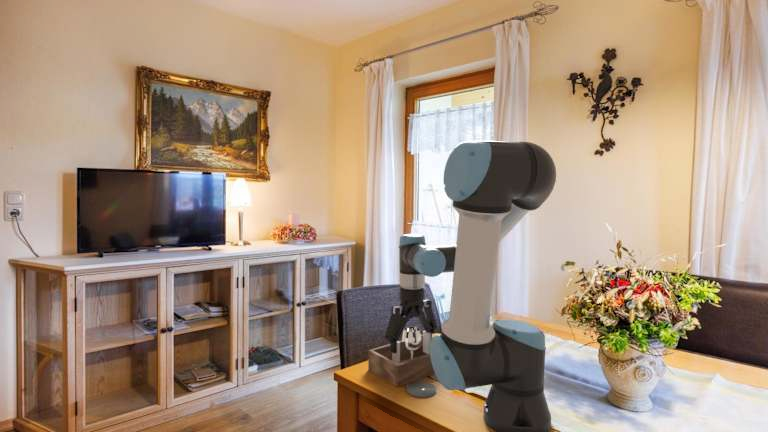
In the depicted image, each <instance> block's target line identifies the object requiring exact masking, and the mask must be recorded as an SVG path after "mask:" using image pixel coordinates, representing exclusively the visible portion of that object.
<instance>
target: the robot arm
mask: <svg viewBox="0 0 768 432" xmlns="http://www.w3.org/2000/svg"><path fill="white" fill-rule="evenodd" d="M556 170H557V169H556V165H555V162H554V160H553V158H552V156H551V155H550V154H549V152H548V151H547V150H546V149H544V148H543V146H541V145H538V144H537V143H534V142H533V143H532V142H529V141H501V140H499V141H498V140H484V139H478V140H467V141H463V142H460V143H458V144H457V145H456V146H455V147H454V148H453V150H452V151H451V152H450V153H449V155H448V158H447V161H446V163H445V167H444V172H443V185H444V192H445V194H446V196H447V197H448V198H449V199H450V200H452V207H453V209H454V210H455V211H456V212H457V213H458V223H457V231H456V232H457V234H456V244H444V245H427V244H426V238H425V236H424V235H423V234H419V233H404V234H402V235H400V236H399V243H398V244H399V246H398V249H399V252H398V253H399V260H398V261H399V268H398V269H399V277H398V278H399V289H398V290H399V291H398V292H399V295H398V296H399V300H400V304H399V306H395V305H392V306H391V312H390V313H391V314H390V318H389V321H388V325H387V327H386V332H385V335H384V340H385V341H387V342H389V344H390V348H391V349H390V350H391V352H392V361H394V362H396V363H398V364H400V363H401V361H400V342H398V341H400V340H399V339H400V337H401V335H402V334H403V331H404V328H406V324H407V323H409V321H410V320H411V319H414V318H417V319H418V320H419V322H420V324H421V325H422V327H423V329H424V330H423V331H422V334H423V352H425V353H427V354H430V358H431V362H432V366H433V369H434V372H435V374H434V375H435V376H436V379H437V380H438V382H439V383H440V385H441V386H442V387H443V388H444V389H446V390H448V391H457V390H462V391H465V390H466V389H472V388H478V387H483V386H484V387H485V386H490V388H489V391H488V394H487V396H486V399H485V403H484V405H483V419H484V422H485V423H486V424H487V425H488V427H489V428H491V429H492V430H494V431H496V432H550V430H551V427H552V415H551V412H550V409H549V405H548V401H547V399H546V395H545V388H544V387H545V362H546V351H547V348H546V338H545V337H546V336H545V333H544V332H543V331H542V329H541V328H539V327H538V326H536V325H533V324H531V323H528V322H525V321H520V320H516V319H509V318H498V319H495V320H494V321H493V323H492V325H491V324H490V320H491V311H492V303H493V295H494V287H495V279H496V272H497V271H496V269H497V261H498V254H499V245H500V243H501V242H502V241H503V239H505V237H506V236H507V235H508V234H509V233H510V232H511V231H512V230H514V227H516V225H518V223H520V221H521V220H523V218H524V217H525V216H526V215H527V214H528V213H529V212H530V211H531V212H532V211H536V210H537V209H539V208H540V207H541V206H542V205H543V204H544V203H545V201H546V200H548V198H549V197H550V195H551V194H552V192H553V190H554V188H555V185H556V181H557V171H556ZM443 273H453V277H452V287H451V295H450V296H451V298H450V305H449V306H450V307H449V317H448V318H446V319H445V320H444V321H443V322H442V323H441V329H440V335H439V334H436V335H435V336H433V334H435V332H436V330H437V328H438V324H437V321H436V318H435V315H434V312H433V311H434V310H433V308H432V307H433V306H432V304H433V303H432V300H430V299H428V298H425V296H426V294H425V293H426V292H425V291H426V288H425V284H426V282H425V281H426V277H429V278H434V277H437V276H439V275H440V274H443Z"/></svg>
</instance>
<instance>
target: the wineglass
mask: <svg viewBox="0 0 768 432" xmlns="http://www.w3.org/2000/svg"><path fill="white" fill-rule="evenodd" d="M421 333H422V332H421V329H420V328H419V327H418V326H407V327H406V326H405V327H404V329H403V331H402V338H401V341H402V343H403V346H404V347H405V348H406V349H407V350H411V352H410V355H411V358H410V360H412V359H414V358H413V350H417V349H418V348H419V347H420V346H421V335H422V334H421Z"/></svg>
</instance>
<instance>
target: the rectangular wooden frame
mask: <svg viewBox="0 0 768 432" xmlns="http://www.w3.org/2000/svg"><path fill="white" fill-rule="evenodd" d="M398 342H400V364H398V363H396V362H394V361H392V352H391V350H390V349H391V348H390V343H389V344H385V345H381V346H378V347H375V348H371V349H369V350H368V349H367V350H368V353H367V355H368V365H367V366H368V371H370V372H372V373H373V374H375V375H376V376H378V377H380V378H382V379H383V380H384V381H387V382H388V383H390V384H391V385H393V386H395V387H397V388H400V387H403V386H407V385H408V384H410V383H412V382H416V381H420V380H423V379H424V378H427V377H429V376H432V375H436V374H435V372H434V369H433V366H432V362H431V358H430V354H427V353H425V352H423V333H422V334H421V346H420V347H419V348H418V349H417V350H413V357H415V358H413V359H412V360H411V355H410V352H411V350H407V349H406V348H405V347H404V346H403V343H402V340H398ZM420 355H422V356H420ZM416 356H419V357H416ZM408 359H409V360H408ZM405 360H407V361H405ZM401 361H403V362H401Z"/></svg>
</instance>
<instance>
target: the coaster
mask: <svg viewBox="0 0 768 432" xmlns="http://www.w3.org/2000/svg"><path fill="white" fill-rule="evenodd" d="M405 391H406V393H407V394H409V396H412V397H416V398H430V397H432V396H435V395H436V392H437V386H436V385H434V384H433V383H431V382H428V381H425V380H424V381H423V380H421V381H420V380H417V381H414V382H411V383H409V384H406V389H405Z"/></svg>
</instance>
